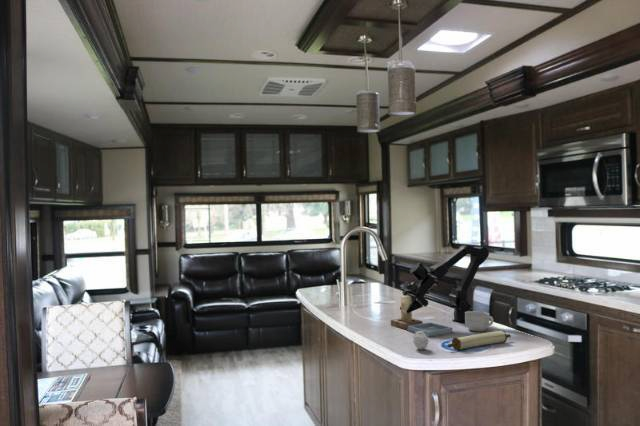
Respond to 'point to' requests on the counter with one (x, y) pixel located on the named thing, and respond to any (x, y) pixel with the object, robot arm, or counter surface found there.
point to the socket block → (404, 325)
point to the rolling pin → (479, 340)
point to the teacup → (477, 320)
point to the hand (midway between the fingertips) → (403, 311)
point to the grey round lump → (420, 340)
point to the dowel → (405, 309)
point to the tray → (430, 329)
